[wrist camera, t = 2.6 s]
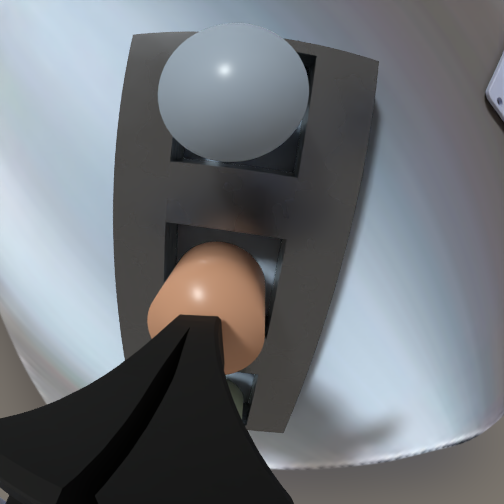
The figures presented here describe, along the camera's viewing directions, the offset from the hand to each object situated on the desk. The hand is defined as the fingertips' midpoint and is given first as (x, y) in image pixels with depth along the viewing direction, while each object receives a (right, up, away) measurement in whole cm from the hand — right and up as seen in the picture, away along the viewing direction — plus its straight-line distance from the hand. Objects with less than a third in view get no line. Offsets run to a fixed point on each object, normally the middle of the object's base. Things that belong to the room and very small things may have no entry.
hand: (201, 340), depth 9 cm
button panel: (0, +2, +6) cm, 6 cm away
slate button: (+1, +8, +1) cm, 8 cm away
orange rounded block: (0, +1, +4) cm, 4 cm away
